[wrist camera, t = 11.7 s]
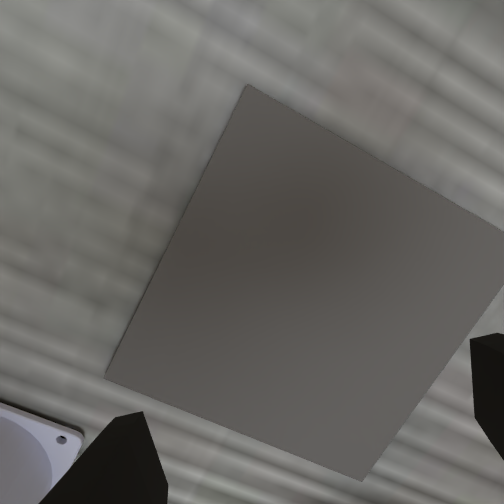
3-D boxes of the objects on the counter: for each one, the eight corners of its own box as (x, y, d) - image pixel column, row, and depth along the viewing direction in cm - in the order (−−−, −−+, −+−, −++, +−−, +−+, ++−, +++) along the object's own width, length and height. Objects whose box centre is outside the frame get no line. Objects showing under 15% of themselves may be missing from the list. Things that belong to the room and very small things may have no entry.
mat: (105, 373, 20) (103, 378, 19) (247, 85, 16) (247, 83, 16) (359, 476, 22) (361, 481, 22) (524, 245, 19) (530, 247, 19)
